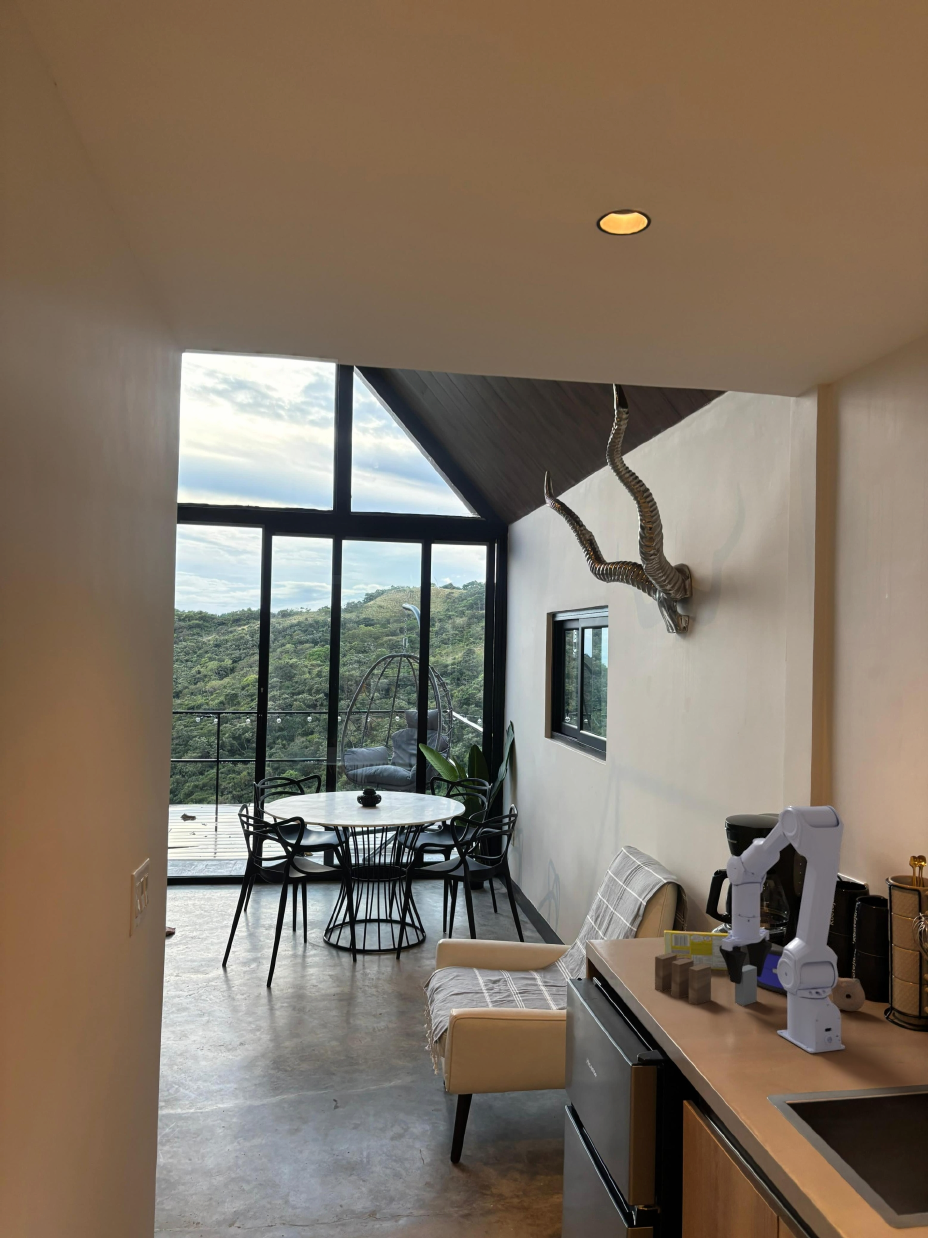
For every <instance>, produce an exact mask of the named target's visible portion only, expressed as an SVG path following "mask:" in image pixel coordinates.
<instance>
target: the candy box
mask: <svg viewBox="0 0 928 1238" xmlns="http://www.w3.org/2000/svg"><path fill="white" fill-rule="evenodd" d="M728 935H729V934H728V932H727V933H726V932H725V933H724V932H701V931H684V930H682V931H680V930H663V954H667V953H672V954H675V955H677V961H678V960H681V959H685V958H687V959H690V960H693V961H694V966H697V965H700V964H706V965H709V966H711V971H713V970H715V971H716V970H717V971H728V969H727V966H726V963H725V960H724V958H723V956H722V954H721V952H720V951H719V946H721V945H722V939H725V938H726V937H727V936H728Z"/></svg>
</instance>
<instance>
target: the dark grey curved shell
mask: <svg viewBox="0 0 928 1238" xmlns="http://www.w3.org/2000/svg"><path fill="white" fill-rule="evenodd" d="M766 941H767V942H769V941H768V940H766ZM771 943H772V942H771ZM784 947H785V946H782V945H778V944H776V943H774V942H773V943H772V948H771V950H770V951H769V953H768V955H767V957H766V960H765V963H764V967H763V971H762V975H761V977H757V987H760V988H763V989H766V990H768V991H772V992H775V993H779V994H783V995H787V990H785V989H784V987H783V986H782V984H781V983H780V981H779V978H778V974H777V966H778V962H779V960H780V958H781V957H782V954H783V949H784ZM740 951H742V952H746V953H747V955H746V957H745V960H744V963H743V966H746V965H750V964H749V954H748V950H747V946H746V945H743V946H740Z"/></svg>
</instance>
